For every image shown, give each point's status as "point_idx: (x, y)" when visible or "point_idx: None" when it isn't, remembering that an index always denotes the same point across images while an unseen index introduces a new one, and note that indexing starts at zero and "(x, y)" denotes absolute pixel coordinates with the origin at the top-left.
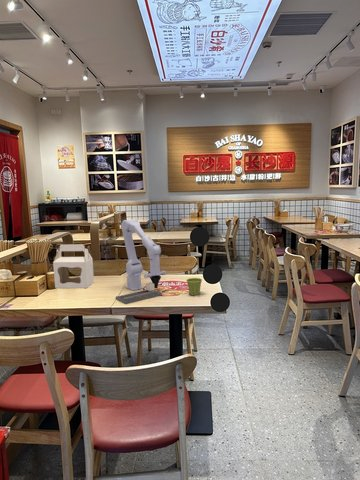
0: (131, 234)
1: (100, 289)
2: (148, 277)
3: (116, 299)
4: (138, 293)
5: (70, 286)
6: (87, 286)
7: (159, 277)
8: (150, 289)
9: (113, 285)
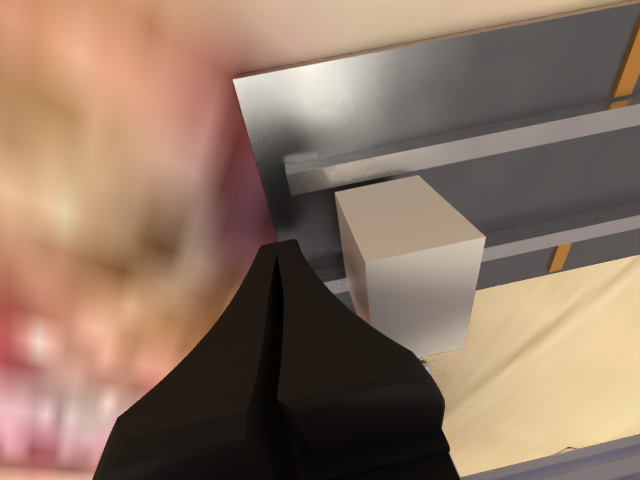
0: None
1: (546, 423)
2: (584, 448)
3: None
4: (515, 227)
5: None
6: None
7: (177, 426)
8: (424, 186)
9: None
